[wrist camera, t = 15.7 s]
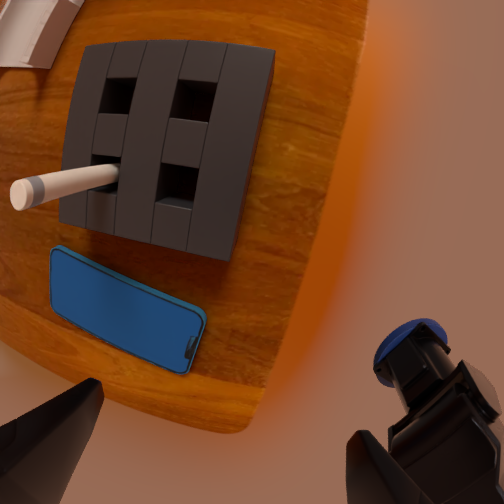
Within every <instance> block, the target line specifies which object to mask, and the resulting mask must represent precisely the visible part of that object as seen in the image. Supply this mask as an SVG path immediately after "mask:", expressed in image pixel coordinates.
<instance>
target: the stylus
mask: <svg viewBox="0 0 504 504" xmlns="http://www.w3.org/2000/svg"><path fill="white" fill-rule="evenodd" d="M120 166H121V162H120V163H112V164H104V165H97V166H90V167H83V168H77V169H71V170H65V171H60V172H54V173H49V174H44V175H39V176H32V177H28V178H23V179H21V180H17V181H15V182H14V183H13V184H12V186H11V190H10V199H11V203H12V205H13V207H14V208H15V209H16V210H19V211H21V210H24V209H28V208H31V207H34V206H37V205H39V204H41V203H44V202H47V201H50V200H54V199H57V198H60V197H63V196H66V195H70V194H73V193H77V192H80V191H84V190H87V189H91V188H94V187H98V186H102V185H106V184H110V183H114V182H118V181H119V174H120Z"/></svg>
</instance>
